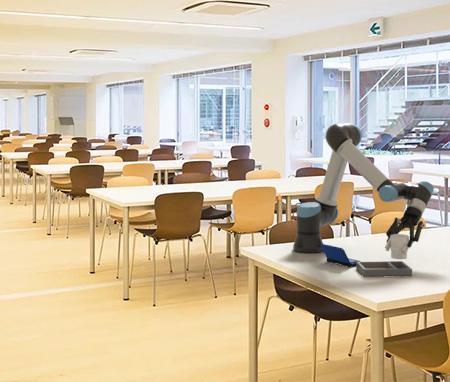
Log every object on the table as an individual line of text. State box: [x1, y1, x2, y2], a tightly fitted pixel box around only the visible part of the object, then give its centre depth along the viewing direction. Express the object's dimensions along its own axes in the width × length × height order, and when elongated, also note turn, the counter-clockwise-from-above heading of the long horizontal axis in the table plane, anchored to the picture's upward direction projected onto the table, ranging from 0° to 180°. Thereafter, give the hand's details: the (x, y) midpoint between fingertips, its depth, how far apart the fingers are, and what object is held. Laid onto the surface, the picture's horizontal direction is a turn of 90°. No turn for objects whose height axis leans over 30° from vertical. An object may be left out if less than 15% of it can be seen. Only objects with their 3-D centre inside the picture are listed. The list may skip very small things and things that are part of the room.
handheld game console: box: [320, 243, 362, 268], centre depth 300 cm, size 16×13×9 cm
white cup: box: [390, 233, 410, 260], centre depth 294 cm, size 8×8×10 cm
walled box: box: [355, 260, 413, 278], centre depth 282 cm, size 20×15×3 cm
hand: (395, 250), depth 292 cm, fingers closed on white cup, 8 cm apart
